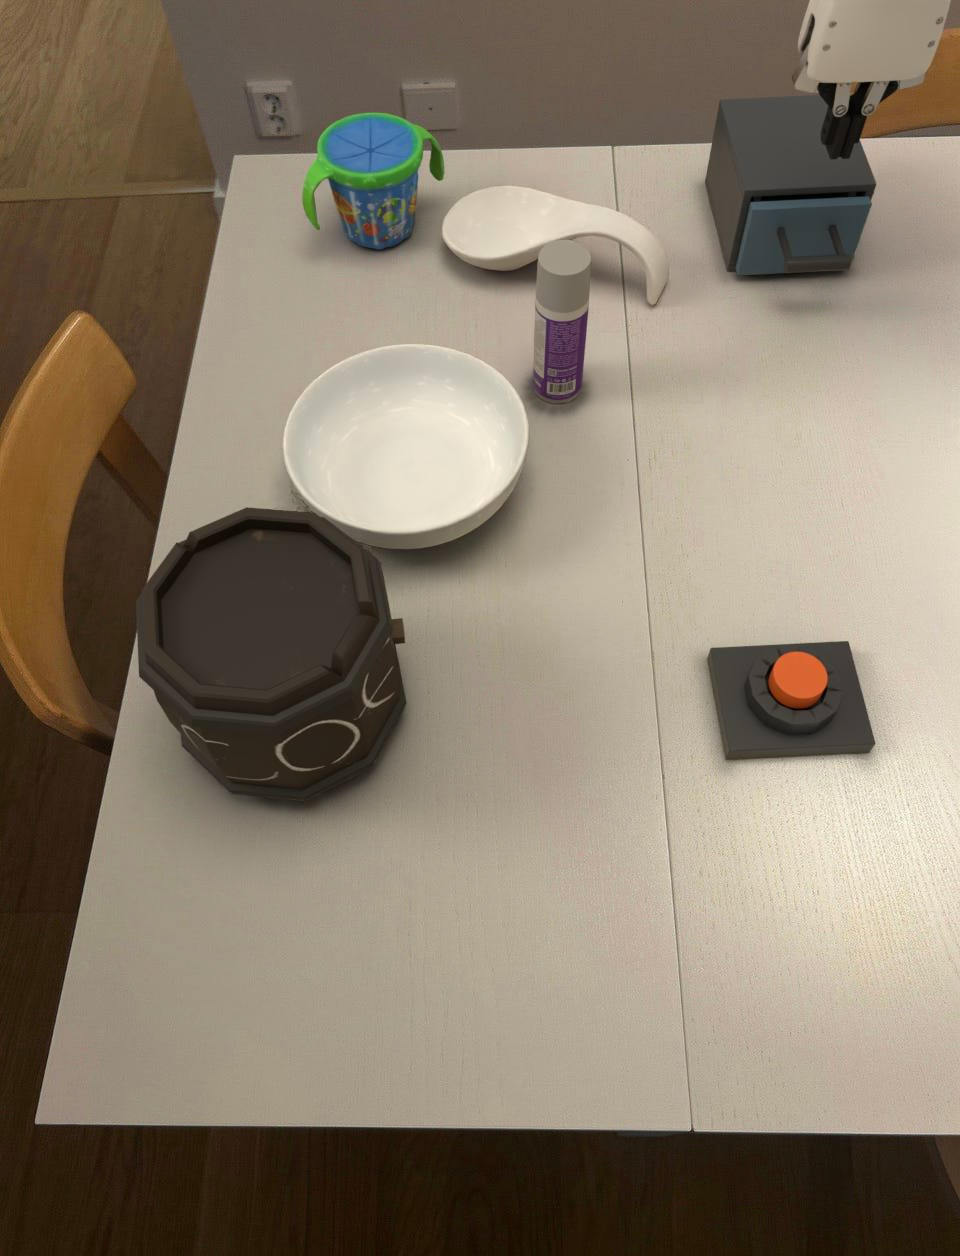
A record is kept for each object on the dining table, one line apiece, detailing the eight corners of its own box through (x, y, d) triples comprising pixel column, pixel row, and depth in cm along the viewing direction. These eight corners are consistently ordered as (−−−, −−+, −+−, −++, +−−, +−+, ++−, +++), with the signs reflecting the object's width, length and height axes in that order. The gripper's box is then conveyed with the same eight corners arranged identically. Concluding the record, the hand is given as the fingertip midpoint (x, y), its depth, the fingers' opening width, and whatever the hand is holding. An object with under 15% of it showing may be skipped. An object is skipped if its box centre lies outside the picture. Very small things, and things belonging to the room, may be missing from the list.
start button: (815, 661, 82) (821, 649, 80) (827, 707, 79) (833, 696, 78) (763, 663, 81) (768, 652, 80) (773, 710, 79) (778, 699, 78)
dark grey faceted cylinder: (433, 787, 80) (418, 689, 67) (195, 835, 79) (130, 744, 65) (395, 592, 89) (375, 472, 76) (181, 631, 88) (122, 515, 74)
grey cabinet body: (849, 265, 109) (877, 184, 101) (727, 271, 109) (744, 190, 101) (819, 176, 117) (842, 93, 108) (704, 181, 117) (719, 99, 108)
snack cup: (425, 179, 118) (419, 92, 109) (466, 235, 113) (463, 148, 104) (294, 222, 114) (276, 136, 106) (330, 281, 109) (315, 196, 101)
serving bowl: (261, 447, 98) (245, 394, 92) (463, 368, 103) (460, 313, 97) (352, 616, 88) (341, 569, 82) (570, 520, 93) (575, 469, 87)
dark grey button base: (843, 651, 85) (855, 628, 82) (869, 753, 81) (883, 733, 78) (706, 658, 85) (714, 635, 82) (725, 760, 81) (733, 741, 78)
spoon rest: (426, 273, 110) (421, 214, 104) (469, 204, 115) (467, 144, 109) (645, 331, 105) (654, 272, 99) (679, 256, 110) (689, 196, 104)
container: (590, 379, 102) (602, 249, 89) (567, 410, 100) (576, 283, 87) (547, 361, 103) (553, 231, 90) (523, 392, 101) (526, 264, 88)
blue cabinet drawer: (862, 309, 104) (887, 243, 98) (747, 315, 104) (763, 249, 98) (821, 185, 114) (840, 118, 108) (715, 190, 114) (728, 123, 108)
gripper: (992, -107, 79) (909, 120, 95) (793, -101, 79) (743, 126, 95) (1023, -55, 76) (931, 173, 91) (814, -48, 75) (758, 180, 91)
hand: (836, 149), depth 93 cm, fingers closed
